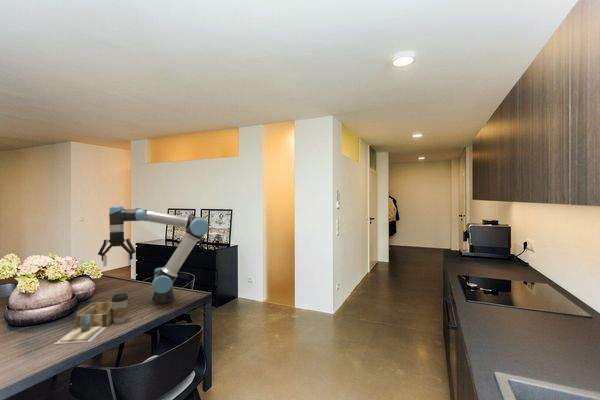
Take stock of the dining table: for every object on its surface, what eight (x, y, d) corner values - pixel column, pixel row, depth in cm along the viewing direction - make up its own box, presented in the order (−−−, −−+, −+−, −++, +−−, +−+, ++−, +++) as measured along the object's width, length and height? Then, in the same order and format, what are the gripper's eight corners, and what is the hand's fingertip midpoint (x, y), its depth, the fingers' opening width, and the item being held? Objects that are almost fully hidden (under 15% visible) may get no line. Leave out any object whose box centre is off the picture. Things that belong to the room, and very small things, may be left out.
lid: (101, 328, 156) (102, 311, 156) (87, 340, 142) (87, 322, 142) (77, 329, 154) (77, 312, 154) (60, 342, 140) (60, 323, 140)
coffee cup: (110, 325, 160) (110, 298, 160) (112, 320, 167) (112, 294, 167) (127, 323, 163) (127, 296, 163) (128, 317, 171) (128, 292, 171)
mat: (106, 327, 157) (106, 327, 157) (90, 342, 141) (90, 341, 141) (74, 329, 154) (74, 329, 154) (54, 344, 138) (54, 343, 138)
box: (119, 315, 174) (119, 301, 174) (106, 327, 158) (106, 311, 158) (92, 316, 171) (92, 302, 171) (76, 328, 155) (76, 313, 155)
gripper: (140, 229, 183) (141, 262, 184) (96, 231, 178) (97, 265, 178) (136, 231, 176) (137, 265, 176) (90, 232, 171) (91, 268, 171)
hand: (117, 265), depth 177 cm, fingers open, 13 cm apart
